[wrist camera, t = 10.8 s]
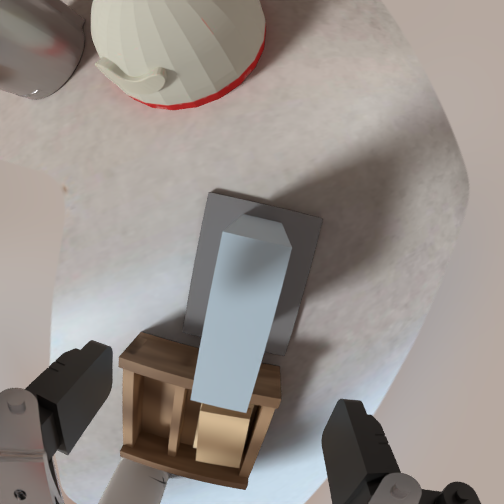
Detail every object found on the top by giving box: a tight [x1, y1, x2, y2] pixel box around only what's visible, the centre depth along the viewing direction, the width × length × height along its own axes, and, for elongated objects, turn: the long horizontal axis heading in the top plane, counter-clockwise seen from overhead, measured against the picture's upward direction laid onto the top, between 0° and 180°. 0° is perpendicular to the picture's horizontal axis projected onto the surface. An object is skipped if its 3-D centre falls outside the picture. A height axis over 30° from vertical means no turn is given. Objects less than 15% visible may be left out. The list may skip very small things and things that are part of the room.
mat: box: [183, 192, 323, 356], centre depth 25 cm, size 12×9×1 cm
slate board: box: [191, 214, 292, 413], centre depth 20 cm, size 9×3×11 cm, turn 167°
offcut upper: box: [196, 403, 251, 468], centre depth 25 cm, size 7×4×2 cm, turn 171°
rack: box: [119, 332, 281, 490], centre depth 26 cm, size 13×13×5 cm
